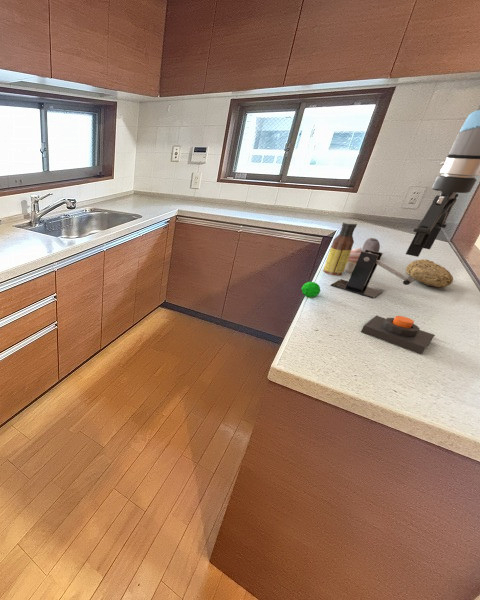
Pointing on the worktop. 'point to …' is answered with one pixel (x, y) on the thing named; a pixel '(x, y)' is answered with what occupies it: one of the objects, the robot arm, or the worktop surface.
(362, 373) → the worktop surface
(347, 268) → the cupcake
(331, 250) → the sauce bottle
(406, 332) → the button block
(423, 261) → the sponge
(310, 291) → the green bumpy ball
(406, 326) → the button
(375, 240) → the perforated stone tool
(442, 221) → the robot arm
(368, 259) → the bracket
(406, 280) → the lever
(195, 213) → the worktop surface
